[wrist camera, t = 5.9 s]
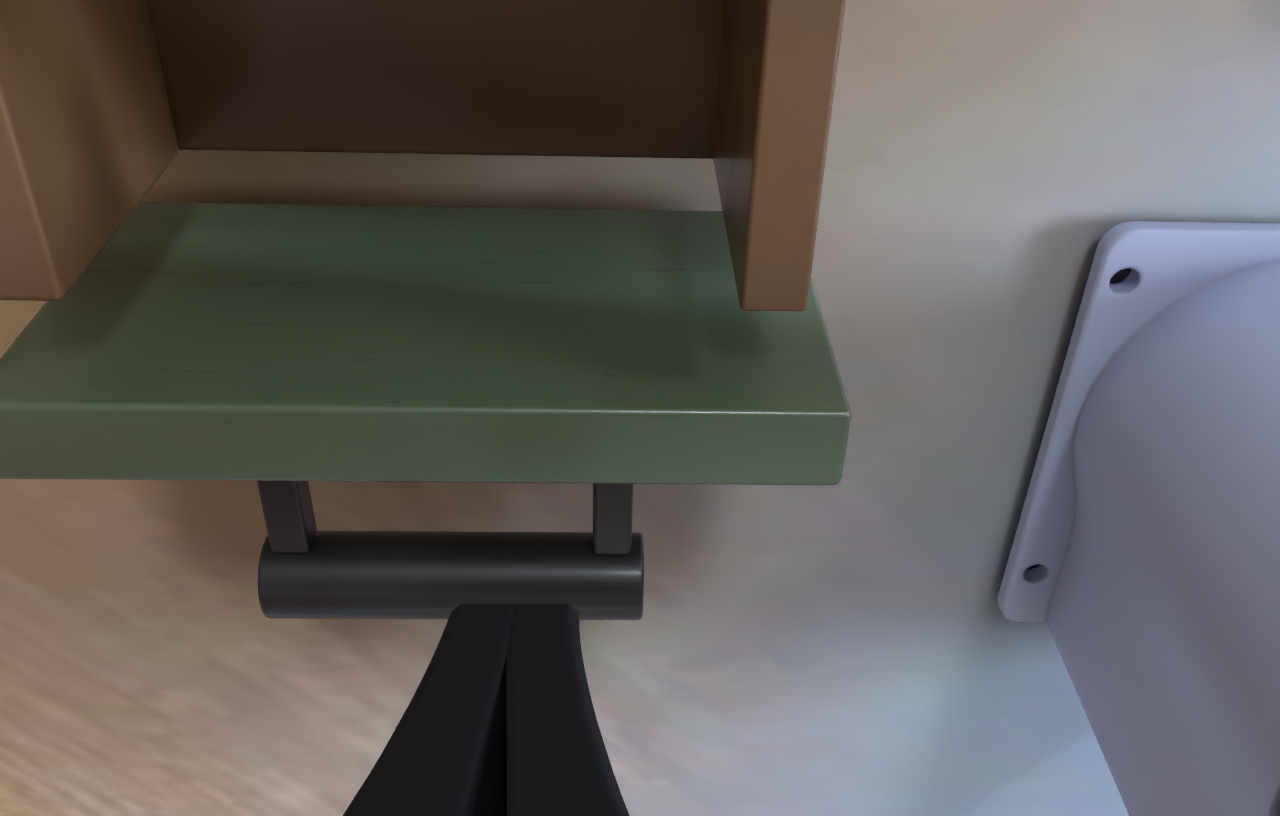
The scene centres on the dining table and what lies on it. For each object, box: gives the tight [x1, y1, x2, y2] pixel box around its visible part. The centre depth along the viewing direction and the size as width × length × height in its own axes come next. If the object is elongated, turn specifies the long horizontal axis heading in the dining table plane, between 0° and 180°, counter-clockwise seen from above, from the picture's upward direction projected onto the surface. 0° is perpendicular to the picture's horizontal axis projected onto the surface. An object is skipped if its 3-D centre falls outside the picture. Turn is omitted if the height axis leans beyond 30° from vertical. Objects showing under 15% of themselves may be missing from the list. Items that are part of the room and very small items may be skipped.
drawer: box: [0, 0, 851, 620], centre depth 15 cm, size 17×11×6 cm, turn 179°
